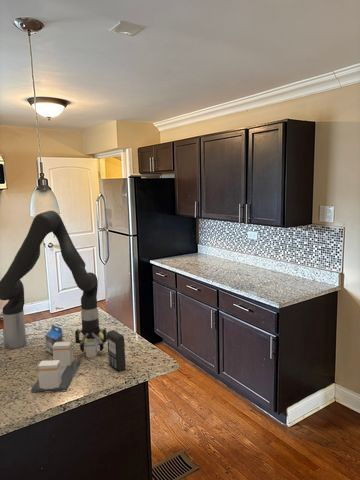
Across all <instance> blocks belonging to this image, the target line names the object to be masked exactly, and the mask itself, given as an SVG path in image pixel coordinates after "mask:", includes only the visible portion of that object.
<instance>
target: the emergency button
mask: <svg viewBox="0 0 360 480" xmlns="http://www.w3.org/2000/svg"><path fill="white" fill-rule="evenodd" d="M99 334H100V336H101V337H102V339H104V338H103V334H102V332H100V333H99ZM83 337H84V335H83V334H82V338H83ZM86 341H87V338H86V339H85V340H84V342H83V343H84V348H86ZM103 344H104V347H106V346H107V344H106V342H104V343H103ZM98 349H100V342H99V341H98Z"/></svg>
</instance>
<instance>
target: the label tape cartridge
mask: <svg viewBox="0 0 360 480" xmlns="http://www.w3.org/2000/svg"><path fill="white" fill-rule="evenodd" d="M44 337H45V338H44V339H45V347H46V349H45V350H46V353H49V354H51V355H53V347H52V346H53V345H54V343H55V342H64V340H63V328H62V327H58V325H57V326H56V325H54V324H51V329H50V330H49V331H48V332H46V334H45V335H44Z"/></svg>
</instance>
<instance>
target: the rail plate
mask: <svg viewBox="0 0 360 480" xmlns="http://www.w3.org/2000/svg"><path fill="white" fill-rule="evenodd" d="M80 365H81V360H80V359H78V360H76V359H75V360H74V359H73V362H72V364H71V366H60V368H61V381H62V382H61V384H60V386H59V388H40V386H39V378H38V379H37V380H36V382H35V383H34V385H33V386H32V387H31V389H30V391H31V392H32V393H46V392H45V391H55V392H64V391H63V390H67V391H68V389H69V387H70V385H71V383H72V380H73V379H74V377H75V375H76V373H77V372H78V371H77V370H78V369H79V366H80ZM68 386H69V387H68ZM67 388H68V389H67Z"/></svg>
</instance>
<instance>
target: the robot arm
mask: <svg viewBox="0 0 360 480" xmlns="http://www.w3.org/2000/svg"><path fill="white" fill-rule="evenodd" d="M62 219H63V218H62V217H61V215H60V214H59V213H58V212H56V211H55V210H47V211H43V212H40V213H38V214H37V215H35V217H34V218H33V219H32V222H31V223H30V224H31V225H30V227H29V229H28V232H27V235H26V236H25V238H24V240H23V241H22V244H21V246H20V247H19V249H18V250H17V253H16V255H15V256H14V258H13V261H12V262H11V264H10V266H9V267H8V269H7V271H6V272H5V274H4V275H3V277H2V278H0V300H1V301H7V302H6V303H5V304H4V305H3V307H2V320H3V328H2V339H3V347H4V349H8V350H16V349H19V348H23V347H25V346H26V345H27V344H28V343H27V333H26V324H25V323H26V321H25V313H24V306H25V288H24V287H25V286H24V284H23V282H22V281H21V279H23V278H24V277H25V276H26V275H27V274H28V273H30V271H31V270H32V269H33V268H34V267H35V266H36V264H37V262H38V261H39V259H40V256H41V245H42V242H43V241H44V240H45V238H46V237H47V235H49V234H50V233H53V235H54V236H55V238H56V240H57V241H58V245H59V249H60V253H61V257H62V259H63V262H64V264H65V265H66V266H67V269H69V270H70V272H71V273H72V274H71V275H72V278H73V279H74V282H75V285H76V286H77V288H79V290H81V291H82V295H81V297H80V309H81V310H80V311H81V312H80V317H81V329H80V328H77V329H76V330H75V332H74V335H75V337H74V338H75V341H74V343H75V344H79V349H80V351H81V353H84V352H85V345H84V343H83V342H84V340H85V339H86V338H87V339H95V338H96V340H97V341H99V342H100V348H99V352H102V351H103V350H104V344H103V343H104V342H105V343H107V332H108V331H107V327H104V328H100V319H99V316H100V314H99V309H98V308H99V307H98V297H97V296H98V288H99V286H98V285H99V280H98V277H97V275H96V274H95V273H94V272H88V271H87V270H86V263H85V261H84V259H83V258H82V256H81V254H80V253H79V252H78V250H77V248H76V247H75V245H74V243H73V241H72V238H71V237H70V234H69V232H68V230H67V228H66V225H65V223H64V221H63V220H62ZM100 332H101V334H102V336H103V338H104V339H102V337H101V336H100V334H99V333H100ZM81 334H82V338H81V339H80V335H81ZM83 335H84V337H83Z"/></svg>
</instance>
